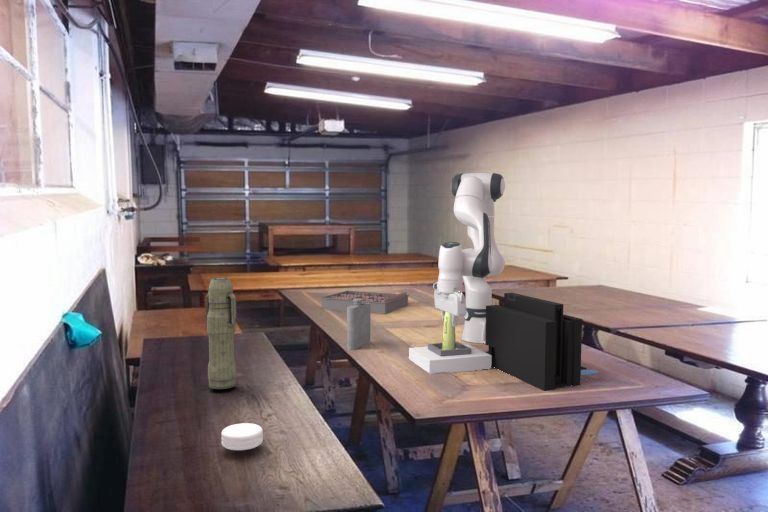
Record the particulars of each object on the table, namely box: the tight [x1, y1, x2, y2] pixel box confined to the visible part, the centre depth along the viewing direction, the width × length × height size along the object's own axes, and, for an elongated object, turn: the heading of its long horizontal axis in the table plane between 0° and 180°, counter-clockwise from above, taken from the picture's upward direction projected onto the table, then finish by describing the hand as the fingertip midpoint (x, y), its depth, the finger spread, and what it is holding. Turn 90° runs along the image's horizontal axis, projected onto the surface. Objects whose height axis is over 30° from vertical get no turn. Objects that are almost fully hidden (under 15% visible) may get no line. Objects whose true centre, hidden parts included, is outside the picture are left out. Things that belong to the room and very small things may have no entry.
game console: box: [484, 292, 599, 391], centre depth 222 cm, size 35×30×27 cm
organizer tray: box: [320, 290, 410, 315], centre depth 349 cm, size 32×40×10 cm
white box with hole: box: [408, 341, 492, 376], centre depth 231 cm, size 24×20×7 cm
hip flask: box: [346, 299, 371, 351], centre depth 259 cm, size 16×4×20 cm, turn 152°
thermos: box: [205, 276, 237, 390], centre depth 204 cm, size 9×12×35 cm
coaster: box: [220, 422, 264, 451], centre depth 156 cm, size 10×10×4 cm
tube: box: [442, 312, 457, 350], centre depth 230 cm, size 6×5×20 cm
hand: (449, 324), depth 230 cm, fingers closed on tube, 6 cm apart
